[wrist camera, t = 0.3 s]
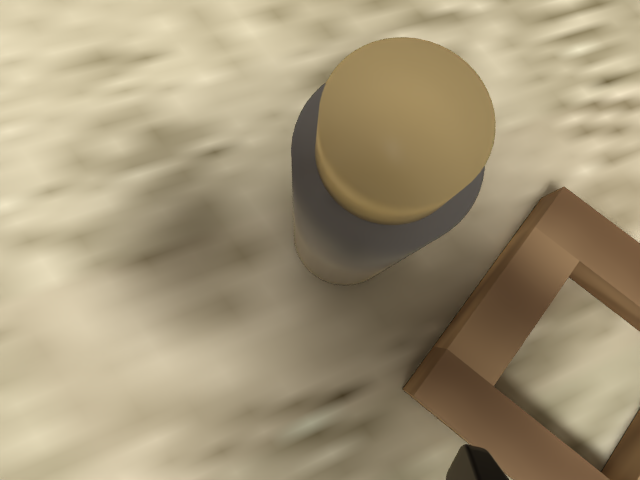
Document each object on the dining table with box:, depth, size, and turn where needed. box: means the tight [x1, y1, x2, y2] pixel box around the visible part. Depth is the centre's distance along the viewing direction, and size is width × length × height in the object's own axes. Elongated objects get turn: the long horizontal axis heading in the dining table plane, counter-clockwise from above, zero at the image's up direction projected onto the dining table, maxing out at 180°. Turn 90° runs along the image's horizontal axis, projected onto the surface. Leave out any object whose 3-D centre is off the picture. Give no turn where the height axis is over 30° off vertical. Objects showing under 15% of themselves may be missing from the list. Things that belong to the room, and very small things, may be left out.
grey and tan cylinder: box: [291, 37, 495, 285], centre depth 16 cm, size 5×5×13 cm
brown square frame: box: [403, 187, 640, 480], centre depth 21 cm, size 12×12×2 cm
